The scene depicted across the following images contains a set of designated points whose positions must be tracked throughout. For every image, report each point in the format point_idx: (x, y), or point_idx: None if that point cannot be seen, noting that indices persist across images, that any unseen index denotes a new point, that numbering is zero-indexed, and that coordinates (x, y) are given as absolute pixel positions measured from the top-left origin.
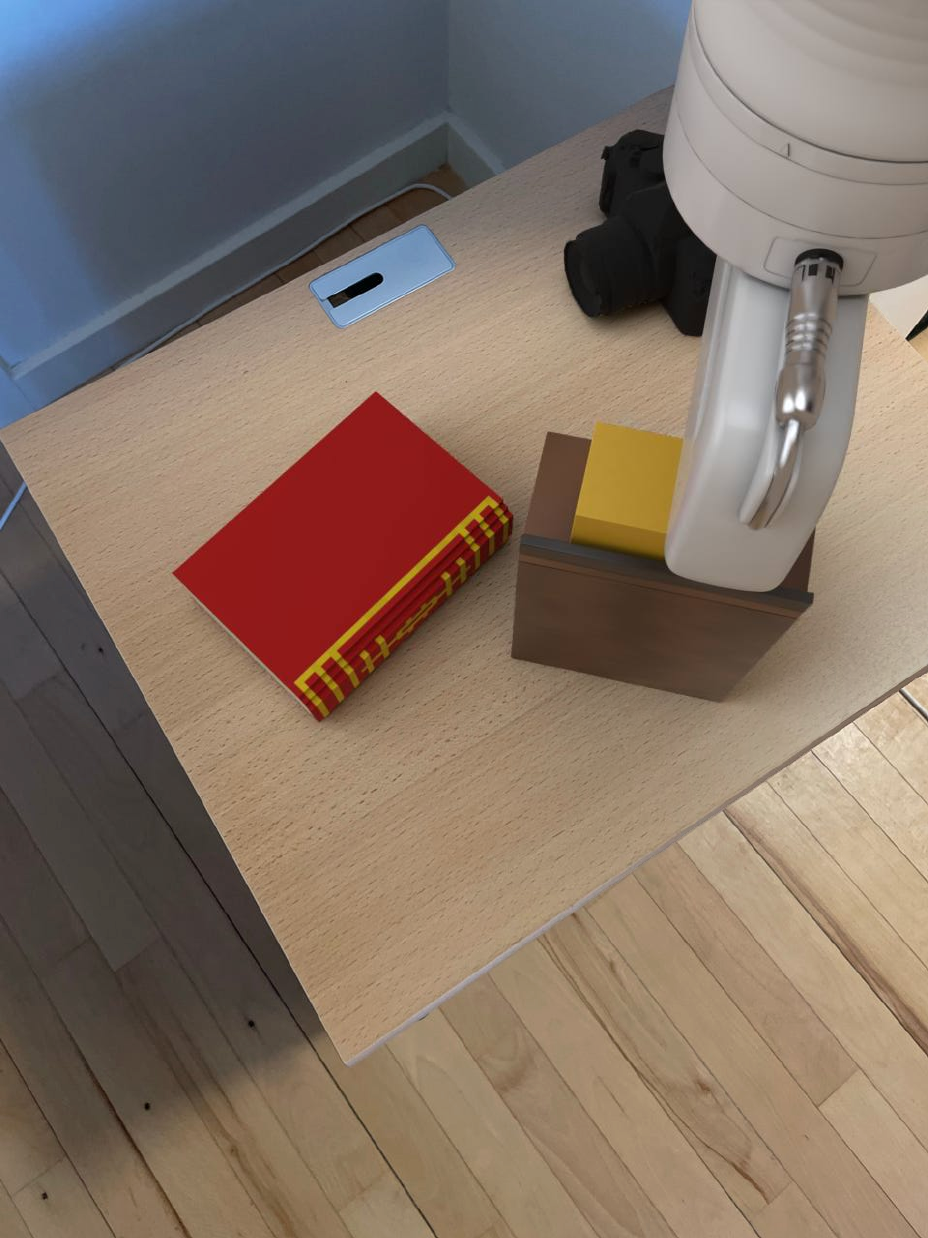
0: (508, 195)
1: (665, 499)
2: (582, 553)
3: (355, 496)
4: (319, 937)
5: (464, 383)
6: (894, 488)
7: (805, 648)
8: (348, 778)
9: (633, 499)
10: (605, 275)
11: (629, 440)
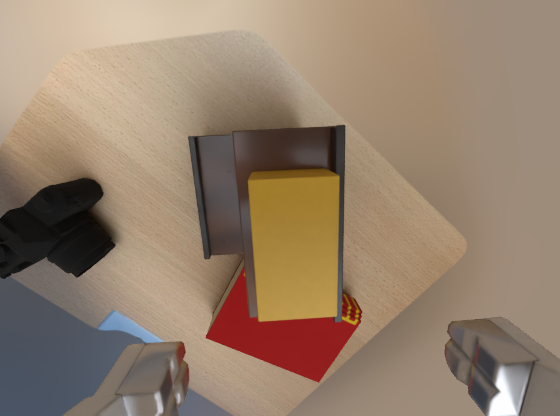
0: (59, 299)
1: (309, 262)
2: (340, 286)
3: (262, 329)
4: (434, 270)
5: (176, 288)
6: (152, 56)
7: (263, 93)
8: (372, 279)
9: (315, 283)
10: (90, 255)
11: (267, 297)
